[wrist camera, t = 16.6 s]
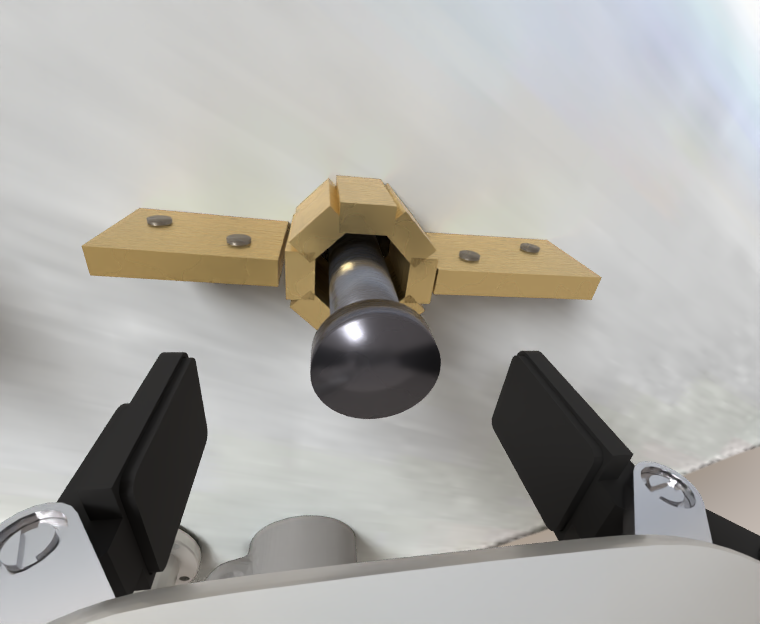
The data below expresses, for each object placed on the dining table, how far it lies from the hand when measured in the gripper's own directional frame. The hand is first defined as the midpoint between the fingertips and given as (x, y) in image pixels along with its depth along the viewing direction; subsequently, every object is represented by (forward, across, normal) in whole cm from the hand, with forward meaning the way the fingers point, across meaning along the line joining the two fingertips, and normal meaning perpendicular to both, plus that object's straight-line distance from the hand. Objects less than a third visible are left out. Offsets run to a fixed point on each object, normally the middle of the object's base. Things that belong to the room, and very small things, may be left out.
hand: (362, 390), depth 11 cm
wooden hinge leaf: (+11, +6, -1) cm, 13 cm away
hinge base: (+11, -5, -1) cm, 12 cm away
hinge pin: (+11, -1, -1) cm, 11 cm away
